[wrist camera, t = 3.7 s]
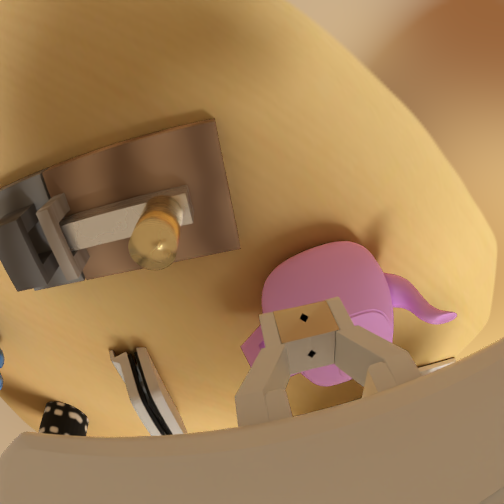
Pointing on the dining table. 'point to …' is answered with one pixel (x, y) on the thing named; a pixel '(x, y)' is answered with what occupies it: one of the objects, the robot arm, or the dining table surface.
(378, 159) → the dining table surface
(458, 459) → the robot arm
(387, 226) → the dining table surface
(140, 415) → the light grey rounded piece
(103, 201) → the door board
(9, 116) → the dining table surface
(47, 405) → the white-spotted black cylinder
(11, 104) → the dining table surface
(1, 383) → the grapes
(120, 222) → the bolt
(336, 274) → the teapot
